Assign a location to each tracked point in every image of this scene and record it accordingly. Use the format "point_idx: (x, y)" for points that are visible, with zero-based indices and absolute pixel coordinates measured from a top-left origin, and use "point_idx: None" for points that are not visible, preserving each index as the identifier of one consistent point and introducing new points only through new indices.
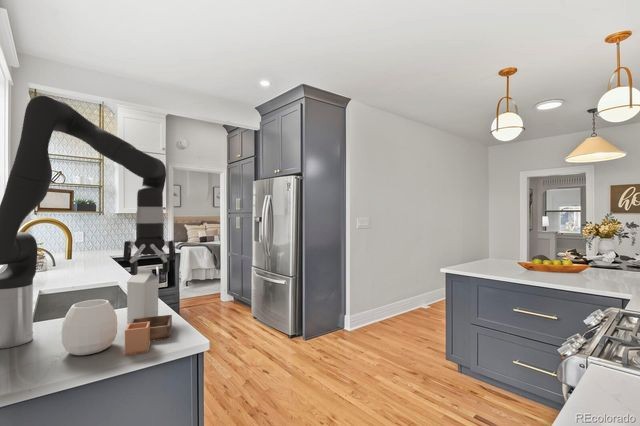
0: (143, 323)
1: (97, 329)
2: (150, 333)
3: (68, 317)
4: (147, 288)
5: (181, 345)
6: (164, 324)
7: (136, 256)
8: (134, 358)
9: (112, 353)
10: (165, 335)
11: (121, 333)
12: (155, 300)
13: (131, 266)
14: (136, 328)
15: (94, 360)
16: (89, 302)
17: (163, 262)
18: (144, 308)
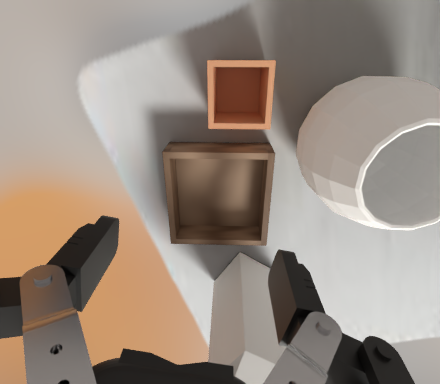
0: (226, 123)
1: (358, 88)
2: (213, 148)
3: None
4: (236, 335)
5: (131, 80)
6: (191, 226)
7: (297, 351)
8: (239, 27)
9: (295, 89)
10: (177, 144)
11: (285, 217)
12: (217, 315)
13: (313, 299)
14: (241, 65)
15: (333, 54)
16: (413, 221)
17: (77, 279)
18: (241, 281)
